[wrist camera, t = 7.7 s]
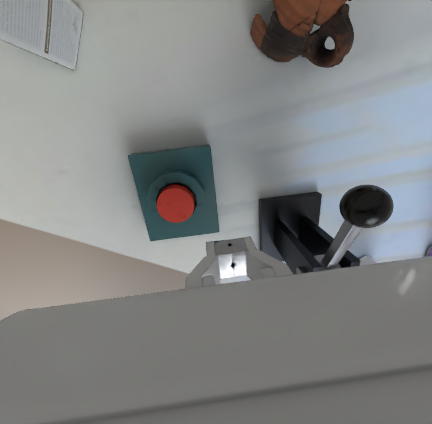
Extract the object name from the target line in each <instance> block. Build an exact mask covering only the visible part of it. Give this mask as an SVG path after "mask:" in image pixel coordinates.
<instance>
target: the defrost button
mask: <svg viewBox="0 0 432 424" xmlns="http://www.w3.org/2000/svg"><path fill="white" fill-rule="evenodd" d="M157 210H158V212H159V214H160V215H161V216H162V217H163V218H164V219H165V220H167V221H170V222H174V223H178V222H183V221H185V220H187V219H188V218H189V217H190V216H191V215H192V213H193V211H194V196H193V194H192V192H191V191H190V190H189V189H188V188H187V187H185V186H183V185H179V184H173V185H169V186H167V187H166V188H164V189H163V190H162V192H161V193H160V195H159V197H158V199H157Z"/></svg>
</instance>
